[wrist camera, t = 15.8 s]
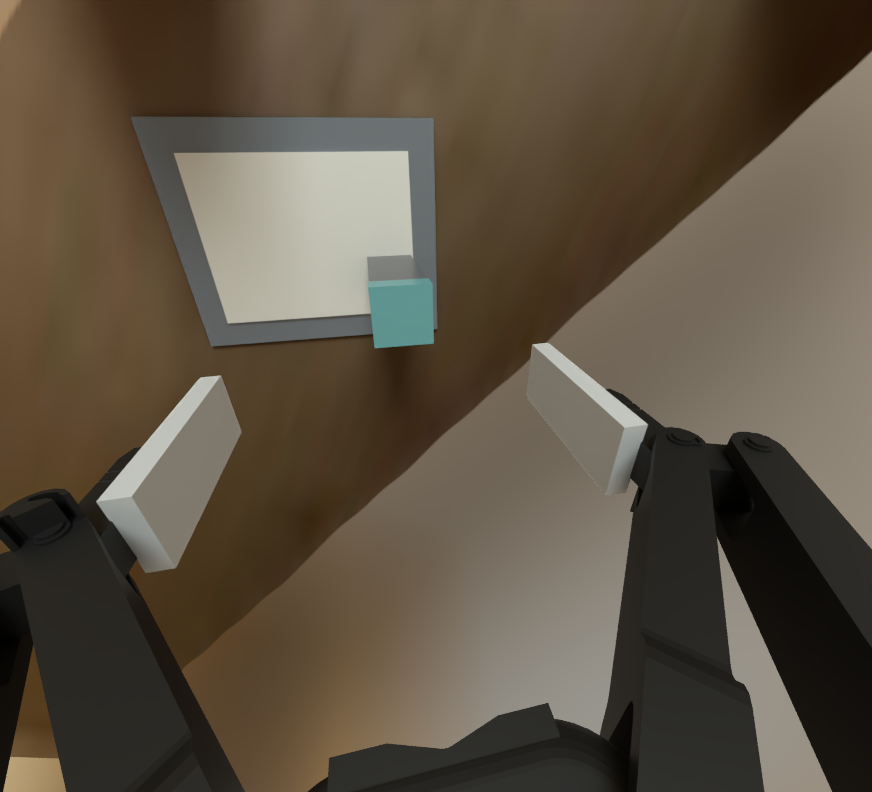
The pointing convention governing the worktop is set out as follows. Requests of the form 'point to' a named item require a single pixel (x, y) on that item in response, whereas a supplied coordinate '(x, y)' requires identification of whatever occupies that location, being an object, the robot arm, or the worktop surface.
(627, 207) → the worktop surface
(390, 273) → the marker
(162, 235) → the worktop surface
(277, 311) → the paper
